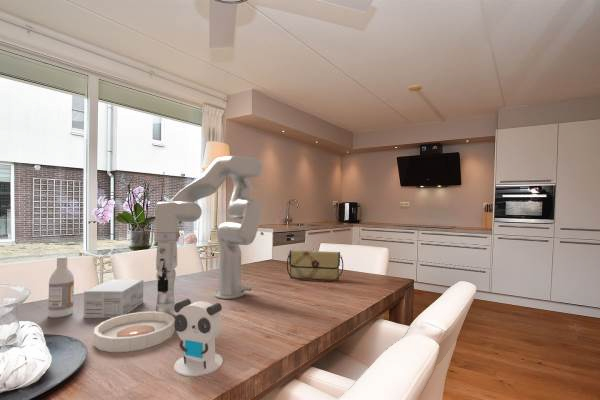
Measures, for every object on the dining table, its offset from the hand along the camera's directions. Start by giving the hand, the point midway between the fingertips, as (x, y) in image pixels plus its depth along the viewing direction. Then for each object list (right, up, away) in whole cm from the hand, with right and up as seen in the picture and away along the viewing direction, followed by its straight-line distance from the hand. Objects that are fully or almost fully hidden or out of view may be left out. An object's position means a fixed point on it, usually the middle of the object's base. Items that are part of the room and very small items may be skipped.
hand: (165, 288), depth 111 cm
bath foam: (-36, -9, 0) cm, 38 cm away
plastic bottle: (0, -10, 0) cm, 10 cm away
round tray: (-2, -9, -16) cm, 19 cm away
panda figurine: (+22, -10, -32) cm, 40 cm away
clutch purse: (+54, -11, +56) cm, 79 cm away
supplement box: (-21, -10, +6) cm, 24 cm away
